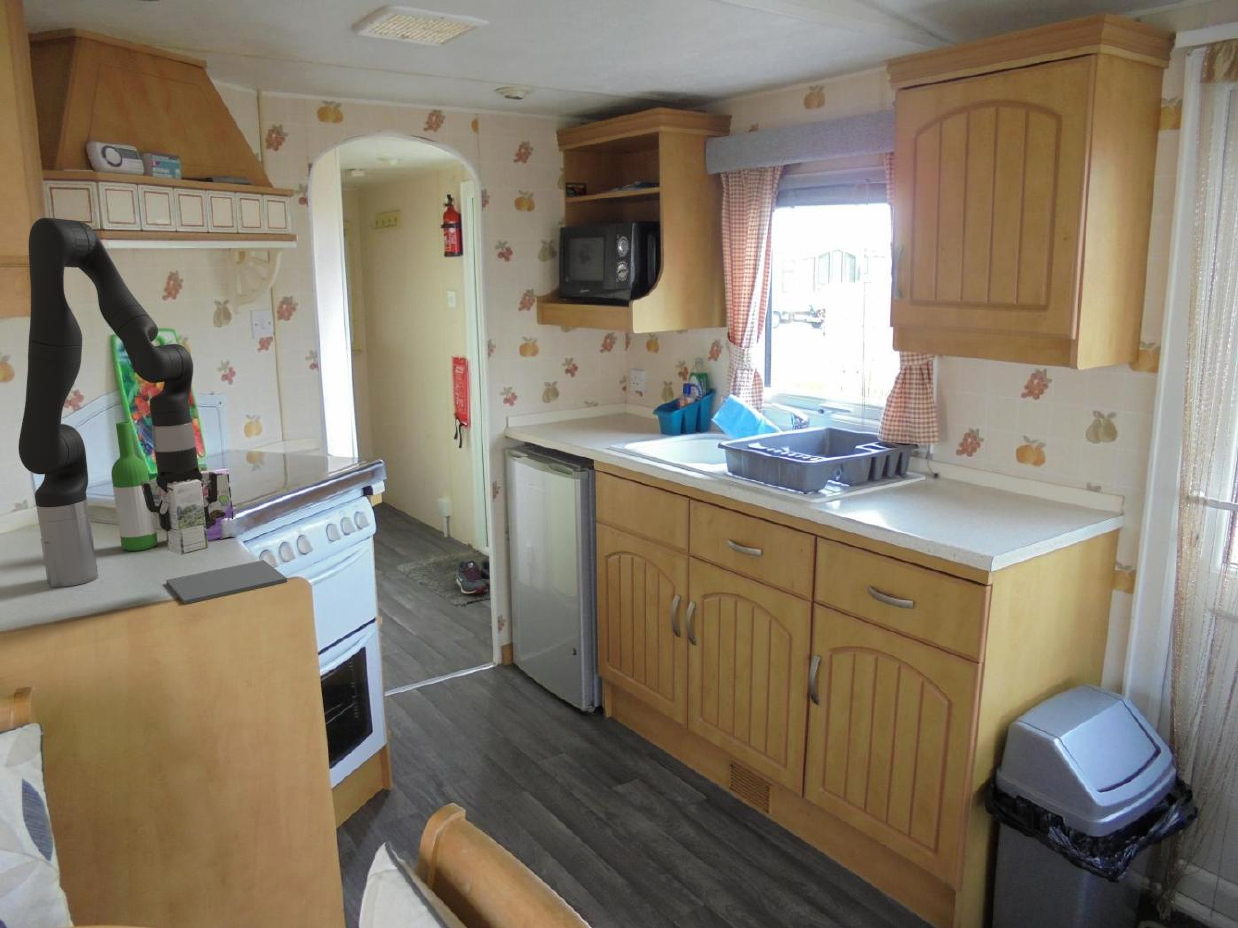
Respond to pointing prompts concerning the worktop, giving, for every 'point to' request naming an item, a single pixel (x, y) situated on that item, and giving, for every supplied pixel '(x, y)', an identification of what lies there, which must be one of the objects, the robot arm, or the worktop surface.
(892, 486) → the worktop surface
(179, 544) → the syrup box
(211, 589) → the mat
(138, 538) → the wine bottle
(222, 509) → the candy box
